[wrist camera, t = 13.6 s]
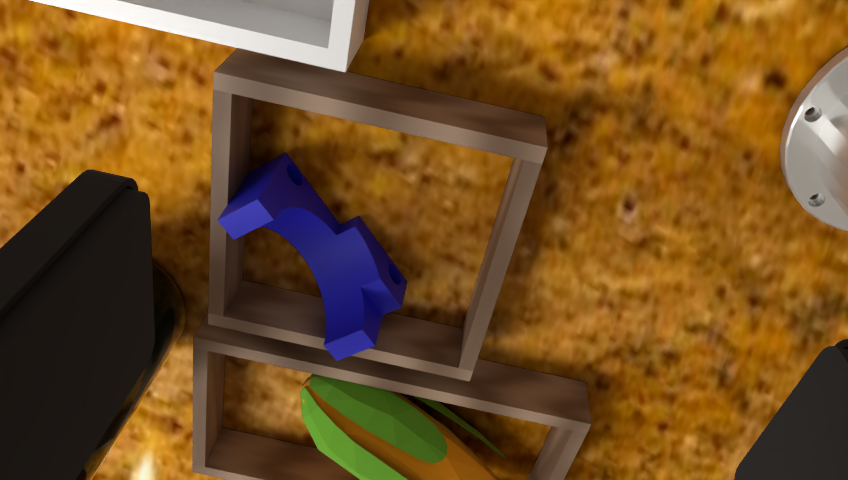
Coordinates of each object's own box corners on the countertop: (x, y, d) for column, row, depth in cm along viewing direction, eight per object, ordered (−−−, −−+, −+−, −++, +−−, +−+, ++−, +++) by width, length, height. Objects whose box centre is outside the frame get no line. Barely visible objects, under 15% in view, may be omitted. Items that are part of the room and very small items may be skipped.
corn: (321, 401, 44) (545, 542, 50) (349, 319, 50) (546, 454, 56) (263, 447, 48) (476, 573, 54) (295, 366, 54) (484, 487, 60)
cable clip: (407, 279, 48) (395, 338, 43) (354, 302, 49) (336, 360, 45) (305, 140, 43) (278, 188, 38) (250, 170, 44) (217, 220, 39)
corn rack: (586, 382, 51) (591, 424, 48) (529, 502, 60) (530, 544, 56) (214, 300, 50) (193, 337, 47) (210, 433, 59) (192, 472, 56)
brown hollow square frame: (544, 116, 40) (547, 147, 37) (472, 341, 50) (469, 381, 47) (238, 46, 39) (213, 71, 36) (228, 287, 50) (208, 324, 46)
